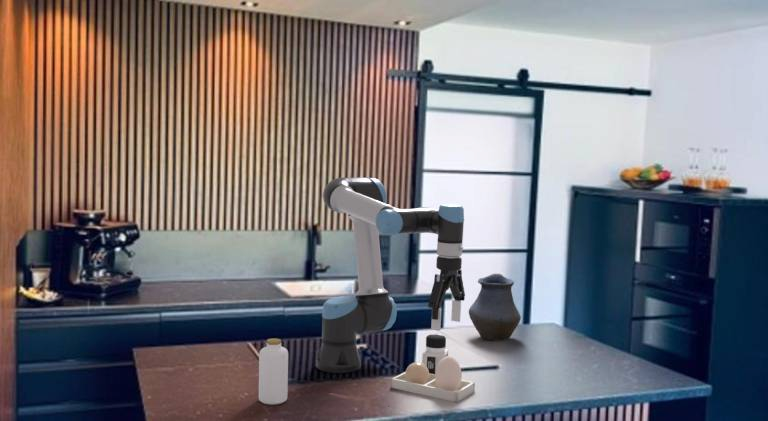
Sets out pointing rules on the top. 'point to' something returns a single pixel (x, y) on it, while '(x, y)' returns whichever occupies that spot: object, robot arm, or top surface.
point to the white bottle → (273, 373)
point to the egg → (448, 374)
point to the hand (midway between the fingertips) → (445, 325)
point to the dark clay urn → (495, 308)
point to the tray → (433, 388)
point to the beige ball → (417, 373)
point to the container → (434, 351)
